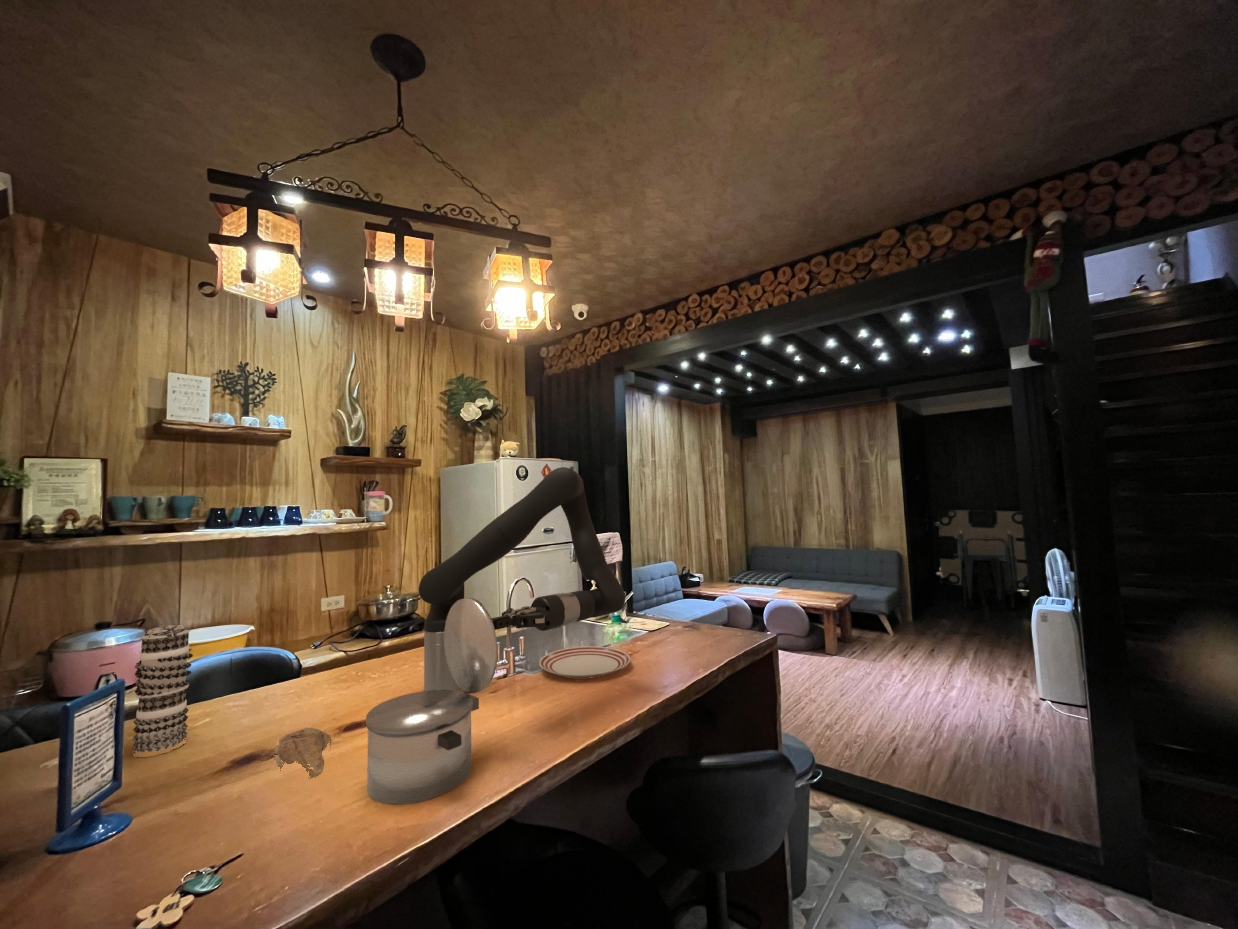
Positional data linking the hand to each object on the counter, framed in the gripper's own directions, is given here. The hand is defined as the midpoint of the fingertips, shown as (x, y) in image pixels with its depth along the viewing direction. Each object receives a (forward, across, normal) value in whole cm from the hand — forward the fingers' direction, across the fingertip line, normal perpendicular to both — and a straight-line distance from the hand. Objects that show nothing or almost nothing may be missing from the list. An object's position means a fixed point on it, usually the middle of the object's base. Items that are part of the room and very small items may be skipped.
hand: (491, 624), depth 103 cm
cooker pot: (+15, 0, +24) cm, 28 cm away
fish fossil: (+26, -28, +25) cm, 46 cm away
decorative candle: (+45, -56, +24) cm, 76 cm away
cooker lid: (+6, 0, +3) cm, 6 cm away
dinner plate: (-47, -22, +24) cm, 57 cm away
